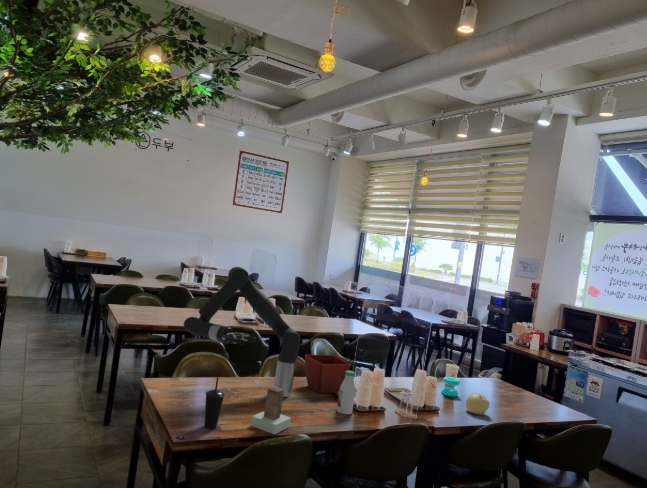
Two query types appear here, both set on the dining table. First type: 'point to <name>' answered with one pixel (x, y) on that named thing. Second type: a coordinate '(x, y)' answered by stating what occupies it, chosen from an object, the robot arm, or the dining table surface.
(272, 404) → the walnut block
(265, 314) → the robot arm
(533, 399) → the dining table surface
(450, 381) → the donuts
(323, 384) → the plant pot
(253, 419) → the base slab
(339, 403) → the milk bottle
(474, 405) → the pale yellow round lump
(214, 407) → the drinking cup
